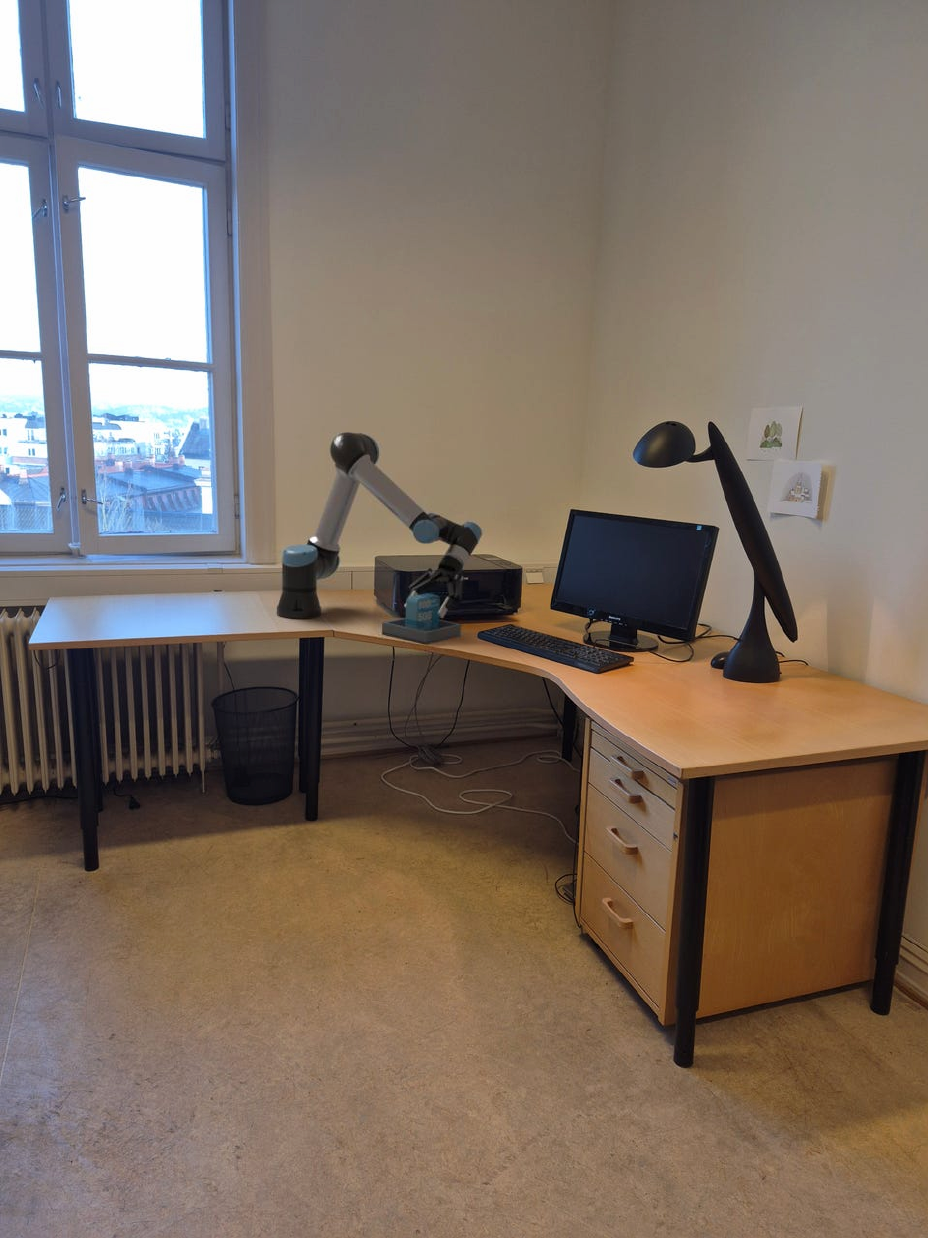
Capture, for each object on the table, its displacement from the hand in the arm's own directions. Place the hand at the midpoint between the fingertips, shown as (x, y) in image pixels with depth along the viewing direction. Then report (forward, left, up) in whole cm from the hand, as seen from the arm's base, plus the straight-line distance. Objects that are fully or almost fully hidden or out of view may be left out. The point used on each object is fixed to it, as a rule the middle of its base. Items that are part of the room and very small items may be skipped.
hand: (423, 612), depth 243 cm
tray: (0, 0, -7) cm, 7 cm away
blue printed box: (0, 0, -7) cm, 7 cm away
